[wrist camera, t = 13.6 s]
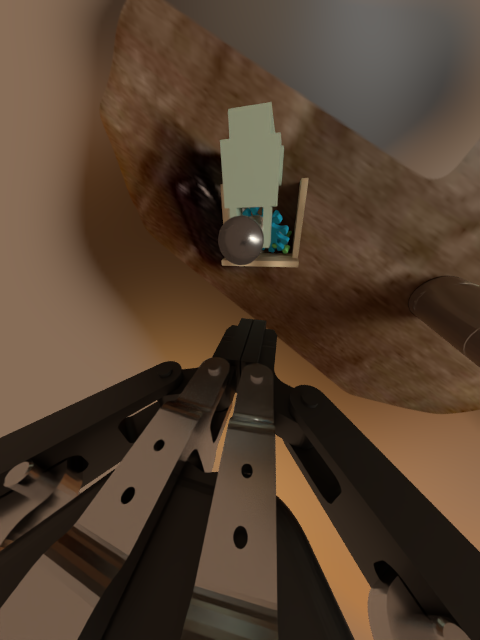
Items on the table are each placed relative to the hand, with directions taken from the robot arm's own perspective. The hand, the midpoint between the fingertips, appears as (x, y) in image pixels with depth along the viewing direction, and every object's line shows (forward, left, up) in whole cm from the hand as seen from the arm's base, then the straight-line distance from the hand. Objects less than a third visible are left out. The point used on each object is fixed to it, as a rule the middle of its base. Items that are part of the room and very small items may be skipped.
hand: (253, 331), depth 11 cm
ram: (+3, -4, -20) cm, 21 cm away
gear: (+2, -3, -32) cm, 32 cm away
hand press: (+3, -9, -32) cm, 33 cm away
